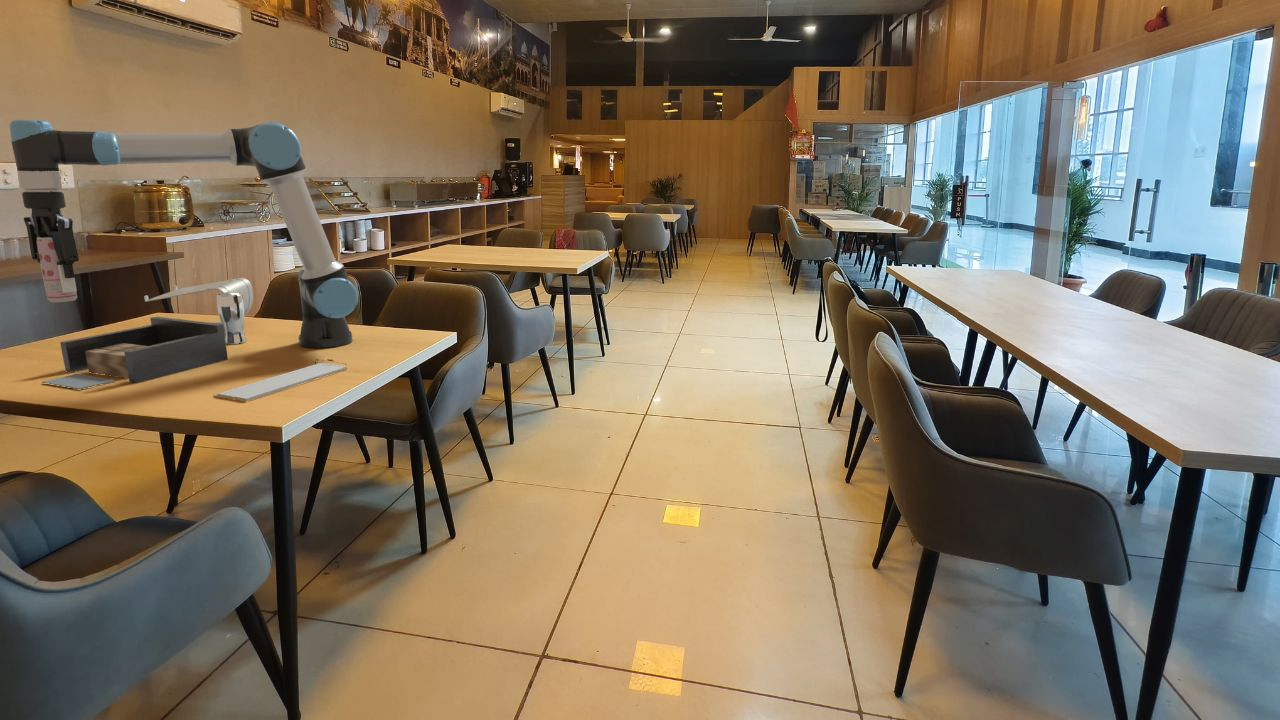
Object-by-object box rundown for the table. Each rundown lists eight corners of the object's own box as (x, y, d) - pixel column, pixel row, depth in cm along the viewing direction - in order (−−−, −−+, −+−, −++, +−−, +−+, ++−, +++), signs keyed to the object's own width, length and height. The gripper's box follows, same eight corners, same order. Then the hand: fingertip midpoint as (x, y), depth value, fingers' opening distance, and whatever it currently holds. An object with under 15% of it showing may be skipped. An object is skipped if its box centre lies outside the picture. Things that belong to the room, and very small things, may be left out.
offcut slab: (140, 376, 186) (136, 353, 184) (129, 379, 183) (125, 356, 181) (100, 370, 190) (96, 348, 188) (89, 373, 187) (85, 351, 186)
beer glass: (252, 341, 223) (246, 293, 219) (230, 346, 217) (223, 296, 213) (240, 338, 227) (234, 291, 223) (217, 342, 221) (210, 294, 217)
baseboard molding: (209, 398, 170) (246, 405, 166) (208, 386, 169) (245, 392, 165) (313, 366, 198) (347, 372, 194) (312, 356, 197) (346, 361, 193)
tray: (227, 359, 202) (223, 324, 199) (135, 383, 178) (128, 344, 176) (162, 350, 211) (157, 316, 208) (65, 372, 187) (58, 334, 185)
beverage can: (52, 303, 169) (39, 238, 166) (44, 300, 173) (32, 236, 169) (81, 300, 174) (69, 236, 170) (73, 297, 177) (61, 235, 173)
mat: (114, 381, 180) (114, 380, 179) (80, 390, 172) (79, 388, 172) (77, 375, 184) (76, 373, 184) (42, 383, 177) (41, 381, 177)
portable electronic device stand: (230, 337, 228) (224, 288, 224) (148, 339, 224) (140, 289, 220) (257, 321, 253) (252, 277, 249) (183, 323, 249) (177, 278, 245)
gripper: (86, 191, 167) (103, 291, 173) (34, 189, 174) (53, 286, 179) (50, 192, 160) (69, 296, 166) (-2, 190, 167) (18, 290, 173)
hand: (61, 290), depth 173 cm, fingers closed on beverage can, 6 cm apart
